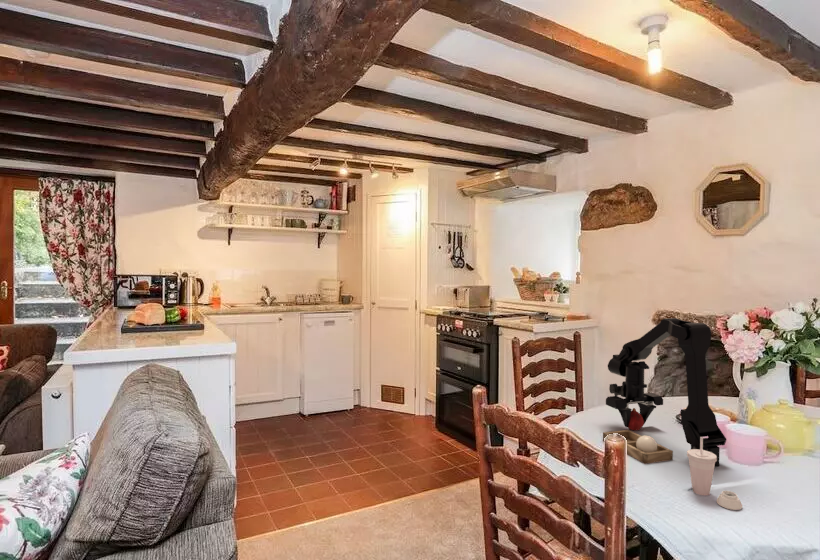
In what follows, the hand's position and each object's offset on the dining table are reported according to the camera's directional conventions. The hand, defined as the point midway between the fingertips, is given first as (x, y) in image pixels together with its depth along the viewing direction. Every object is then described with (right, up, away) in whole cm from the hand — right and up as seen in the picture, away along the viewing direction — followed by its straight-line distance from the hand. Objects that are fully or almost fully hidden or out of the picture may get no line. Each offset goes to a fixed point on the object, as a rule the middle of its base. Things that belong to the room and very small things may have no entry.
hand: (634, 426), depth 162 cm
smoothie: (-3, -4, -42) cm, 42 cm away
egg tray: (-8, -3, -18) cm, 19 cm away
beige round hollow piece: (0, -4, -49) cm, 49 cm away
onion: (0, -2, 0) cm, 2 cm away
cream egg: (-7, -2, -22) cm, 23 cm away
